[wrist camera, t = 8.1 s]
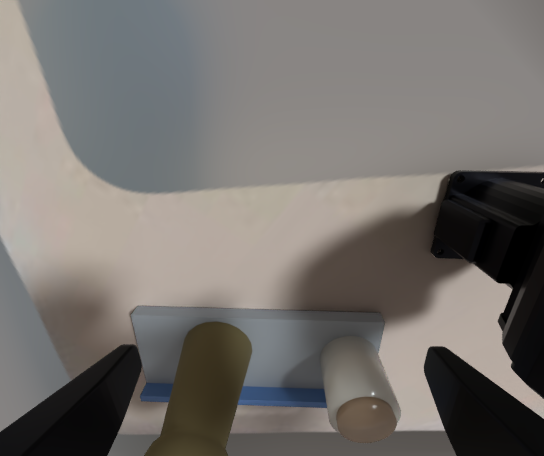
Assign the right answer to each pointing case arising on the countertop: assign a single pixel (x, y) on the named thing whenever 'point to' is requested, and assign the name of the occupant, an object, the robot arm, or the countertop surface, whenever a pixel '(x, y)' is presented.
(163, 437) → the olive waisted cylinder
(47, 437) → the robot arm
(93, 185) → the countertop surface
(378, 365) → the ceramic jar
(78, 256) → the countertop surface
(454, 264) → the countertop surface
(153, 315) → the shelf
